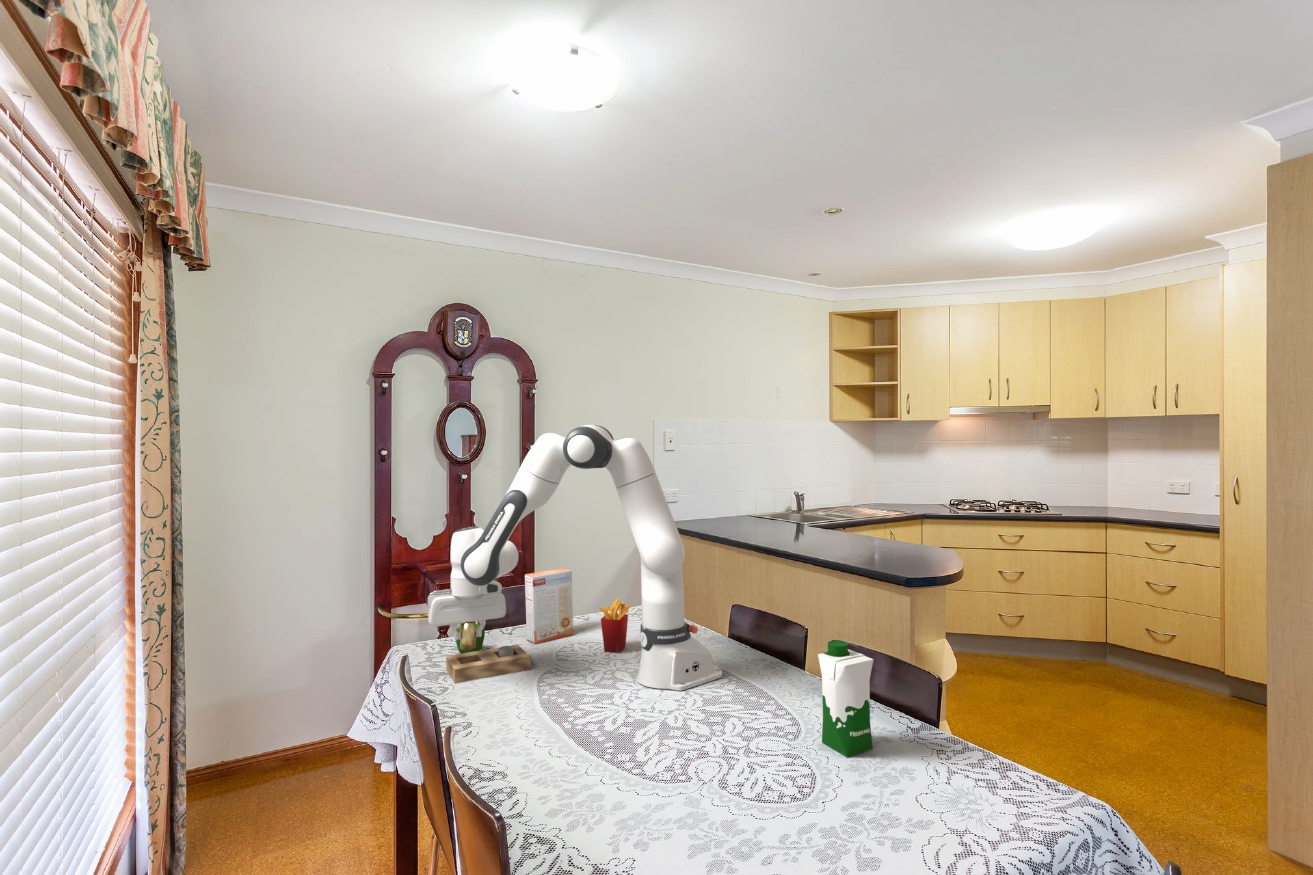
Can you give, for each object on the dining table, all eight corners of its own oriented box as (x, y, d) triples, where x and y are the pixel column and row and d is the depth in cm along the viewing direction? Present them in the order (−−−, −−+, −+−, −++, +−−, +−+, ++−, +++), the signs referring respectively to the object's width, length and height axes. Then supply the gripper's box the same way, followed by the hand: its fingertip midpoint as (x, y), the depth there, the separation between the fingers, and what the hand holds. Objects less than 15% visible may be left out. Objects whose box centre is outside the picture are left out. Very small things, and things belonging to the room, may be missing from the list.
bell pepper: (491, 651, 196) (490, 617, 196) (470, 659, 189) (469, 624, 189) (471, 646, 200) (471, 613, 200) (450, 654, 193) (449, 620, 193)
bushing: (473, 644, 180) (473, 618, 180) (477, 648, 177) (477, 622, 177) (459, 646, 178) (458, 620, 178) (462, 650, 175) (461, 624, 175)
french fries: (600, 652, 192) (599, 601, 192) (610, 644, 200) (609, 594, 200) (628, 654, 190) (627, 603, 190) (637, 646, 198) (636, 596, 198)
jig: (517, 656, 190) (517, 639, 190) (530, 669, 179) (530, 650, 179) (446, 669, 181) (446, 651, 181) (455, 683, 170) (454, 663, 170)
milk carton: (847, 732, 138) (845, 636, 138) (880, 750, 130) (878, 648, 130) (815, 741, 134) (813, 643, 134) (847, 760, 126) (845, 656, 126)
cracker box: (564, 631, 215) (563, 567, 215) (573, 635, 210) (572, 569, 210) (525, 639, 206) (524, 573, 206) (534, 644, 201) (533, 576, 201)
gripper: (429, 593, 170) (429, 647, 170) (507, 584, 179) (508, 635, 179) (425, 588, 175) (425, 640, 175) (501, 580, 185) (502, 629, 185)
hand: (468, 638), depth 177 cm, fingers closed on bushing, 4 cm apart
